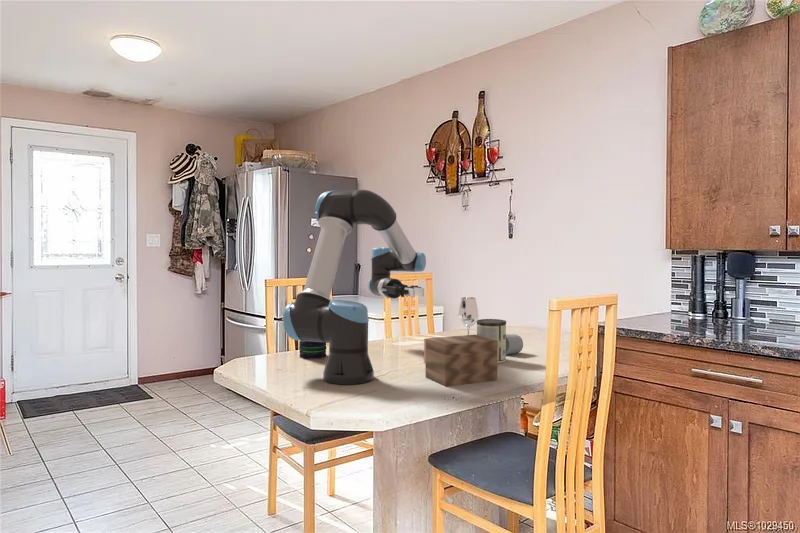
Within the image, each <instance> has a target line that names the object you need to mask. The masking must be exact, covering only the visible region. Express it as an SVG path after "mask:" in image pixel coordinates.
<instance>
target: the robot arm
mask: <svg viewBox="0 0 800 533" xmlns="http://www.w3.org/2000/svg"><path fill="white" fill-rule="evenodd" d="M314 209H315V214H314V215H315V218H316V220H317V222H318V223H317V225H318V226H319V227H320V231H319V236H318V237H317V242H316V246H315V249H314V253H313V255H312V256H313V257H312V260H311V263H310V266H309V269H308V273H307V277H306V280H305V284H304V287H303V290H302V291H300V292H298V293H297V294H296V298H295V300H294V302H293V301H291V302H289V303H288V304H287V305H285V308H284V310H283V315H282V323H283V328H284V331H285V334H286V335H287V337H289V338H290V339H291V340H294V341H299V342H300V341H303V342H305V341H311V342H325V343H326V344H327V343H328V345H329V346H328V347H329V352H328V356H327V360H326V362H325V366H324V369H323V374H322V375H323V376H322V377H323V378H322V379H323V381H325V382H327V383H331V384H334V385H335V384H336V385H359V384H364V383H365V384H366V383H369V382H371V381H373V380H374V378H375V376H374V375H375V374H374V373H375V372H374V368H373V365H372V362H371V359H370V355H369V311H368V307H367V306H366V305H365V304H363V303H361V302H357V301H352V300H343V299H331V294H332V290H333V286H334V284H335V283H334V282H335V278H336V274H337V271H338V267H339V263H340V260H341V255H342V252H343V248H344V244H345V242H346V238H347V236H348V235H350V234H351V233H352V232H353V228H354V225H368V226H371V228H372V229H373V230H375V231H376V232H378V233H379V234H380V236H381V237H382V239H383V240H384V242H385V243H386V245H387V246H388V247H373V248H372V251H371V258H370V260H371V278H370V279H369V281H368V283H367V288H368V291H369V292H370V293H371V294H372V295H375V296H380V297H385V298H386V299H388V300H389V299H397V298H405V296H407V297H414V298H415V296H417V297H425V288H424V287H423V288H422V287H421V286H418V285H410V286H408V285H407V284H404V283H402V281H401V280H400V279H397V278H392V277H391V272H409V273H410V272H411V273H412V272H414V273H416V272H417V273H418V272H423V271H424V270H425V269H426V265H427V259H426V258H427V257H426V255H425V253H423V252H419V251H417V252H416V250H415V249H414V247H413V245H412V244H411V242H410V240H409V239H408V237H407V235H406V234H405V232H404V230H403V229H402V227H401V225H400V224H399V222H398V220H397V213H396V211H395V209H394V208H393V207H392V205H391V204H390V202H388V200H386V199H385V198H384V197H383V196H381V195H379V194H377V193H375V191H374V192H373V191H371V190H368V189H355V190H354V189H351V190H349V189H348V190H335V189H333V190H331V191H330V190H329V191H328V190H327V191H325V192H323V193H321V194H320V195H319V197H318V198H317V200H316V203H315V207H314Z"/></svg>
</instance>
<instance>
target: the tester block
mask: <svg viewBox="0 0 800 533" xmlns="http://www.w3.org/2000/svg"><path fill="white" fill-rule="evenodd" d="M425 339H426V364H425V378H426V379H429V380H430V381H432V382H434V381H435V383H437V384H439V385H441V386H444V387H451V386H452V387H453V386H459V385H467V384H469V385H470V384H477V383H484V382H492V381H498V363H497V359H498V340H494V339H491V338H487V337H483V336H479V335H477V334H469V335H467V334H465V335H453V336H451V335H450V336H440V337H427V338H425Z"/></svg>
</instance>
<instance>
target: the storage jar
mask: <svg viewBox="0 0 800 533" xmlns="http://www.w3.org/2000/svg"><path fill="white" fill-rule="evenodd" d="M298 346H299V347H298V349H299V350H298V351H299V358H300V359H304V360H317V359H318V360H319V359H325V358H326V357H327V343H325V342H311V341H305V342H303V341H299V345H298Z"/></svg>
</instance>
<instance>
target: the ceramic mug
mask: <svg viewBox="0 0 800 533" xmlns="http://www.w3.org/2000/svg"><path fill="white" fill-rule="evenodd" d="M523 347H524V341H523V339H522V337H521V336H520V335H518V334H515V333H514V334H513V333H511V334H509V333H508V334H507V333H506V356H507V355H508V356H509V355H514V354H518V353H520V352H522V351H523Z"/></svg>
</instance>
